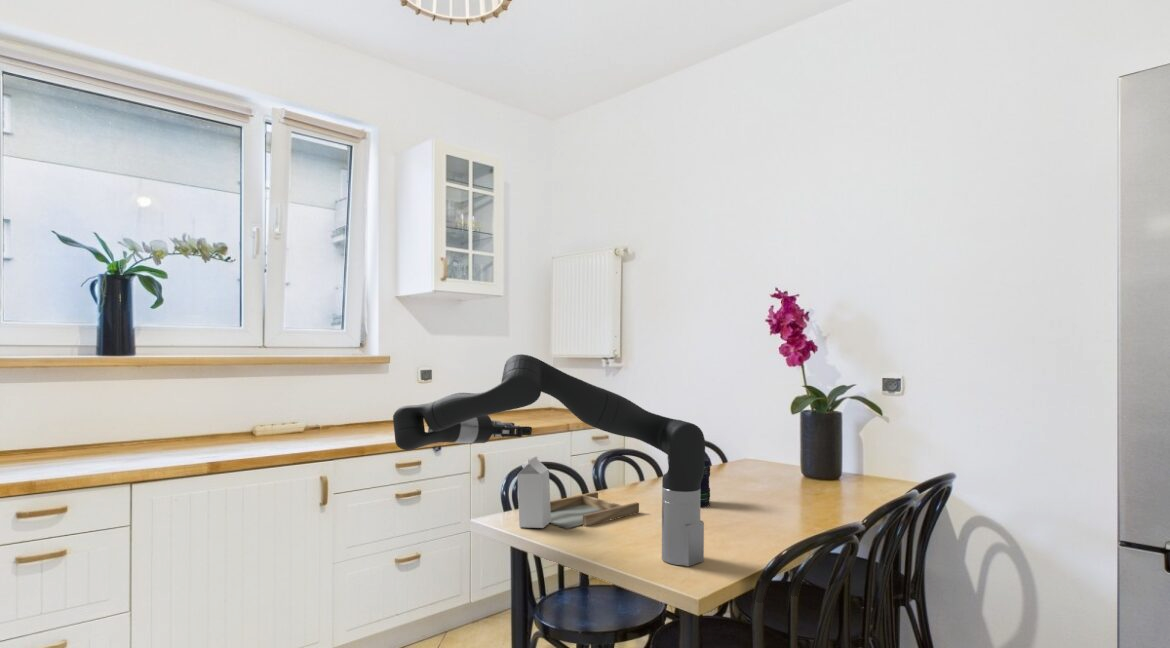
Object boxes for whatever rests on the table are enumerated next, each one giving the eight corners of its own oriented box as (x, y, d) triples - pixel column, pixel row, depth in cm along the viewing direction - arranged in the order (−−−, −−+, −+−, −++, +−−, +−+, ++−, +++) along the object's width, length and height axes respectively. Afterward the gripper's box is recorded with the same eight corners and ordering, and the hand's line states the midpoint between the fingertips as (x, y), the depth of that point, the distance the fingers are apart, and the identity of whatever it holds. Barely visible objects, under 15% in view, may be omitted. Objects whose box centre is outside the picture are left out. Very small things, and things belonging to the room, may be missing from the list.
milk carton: (551, 521, 178) (548, 455, 180) (543, 528, 172) (540, 459, 173) (528, 521, 180) (525, 455, 182) (519, 528, 174) (516, 459, 175)
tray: (638, 512, 192) (639, 503, 192) (569, 530, 172) (570, 519, 172) (595, 501, 206) (595, 491, 206) (527, 515, 186) (527, 505, 186)
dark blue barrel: (677, 506, 201) (678, 459, 201) (681, 499, 210) (682, 455, 211) (708, 508, 198) (709, 461, 198) (711, 501, 207) (711, 456, 208)
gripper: (485, 416, 154) (538, 417, 164) (458, 410, 165) (509, 412, 175) (482, 447, 153) (535, 446, 163) (455, 439, 164) (506, 438, 174)
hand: (522, 428), depth 169 cm, fingers open, 8 cm apart
